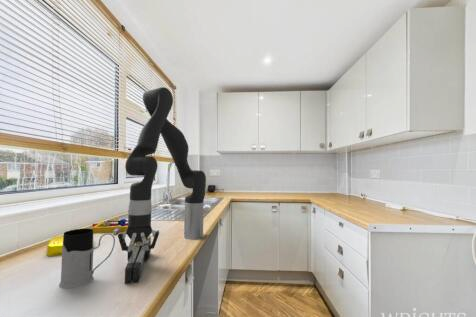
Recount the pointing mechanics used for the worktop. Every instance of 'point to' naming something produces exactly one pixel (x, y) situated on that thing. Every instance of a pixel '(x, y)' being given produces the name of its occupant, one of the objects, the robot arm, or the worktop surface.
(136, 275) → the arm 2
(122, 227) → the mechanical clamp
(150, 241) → the tan framed block
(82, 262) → the glass holder
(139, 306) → the worktop surface
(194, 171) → the robot arm
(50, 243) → the element tile
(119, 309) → the worktop surface
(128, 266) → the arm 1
